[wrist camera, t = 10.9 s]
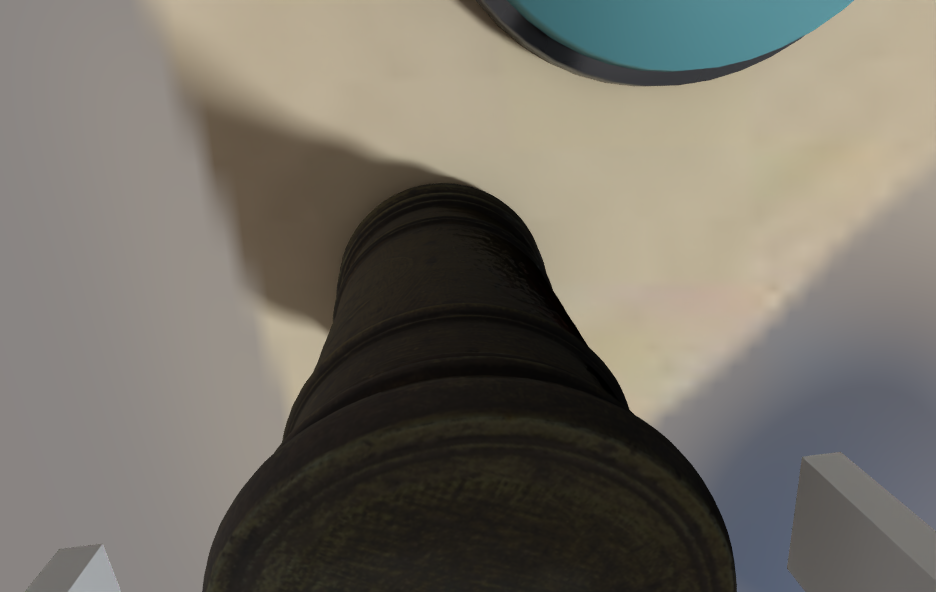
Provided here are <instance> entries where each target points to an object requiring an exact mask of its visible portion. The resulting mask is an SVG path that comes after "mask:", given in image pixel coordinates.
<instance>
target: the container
mask: <svg viewBox="0 0 936 592" xmlns="http://www.w3.org/2000/svg"><path fill="white" fill-rule="evenodd" d="M736 587H737V584H736V573H735V564H734V558H733V552H732V546H731V543H730V539H729V535H728V532H727V529H726V526H725V523H724V521H723V518H722V516H721V514H720V511H719V509H718V507H717V505H716V503H715V501H714V499H713V497H712V495H711V493H710V492H709V490H708V488H707V487H706V485H705V483H704V481H703V480H702V478H701V477H700V475H699V474H698V473H697V471H696V470H695V469H694V467H693V466H692V465H691V463H690V462H689V461H688V460H687V459H686V458H685V457H684V456H683V454H682V453H681V452H680V451H679V450H678V449H677V448H676V447H675V446H674V445H673V444H672V443H671V442H670V441H669V440H668V439H667V438H666V437H665V436H663V435H662V434H661V433H660V432H659V431H657V430H656V429H655V428H653V427H652V426H650V425H649V424H648V423H646V422H645V421H643V420H642V419H640V418H639V417H637V416H635V415H634V414H633V413H632V412H631V411H630V410H629V407H628V404H627V401H626V399H625V396H624V394H623V392H622V389H621V387H620V385H619V383H618V382H617V380H616V378H615V377H614V375H613V374H612V373H611V371H610V370H609V369H608V367H607V366H606V365H605V363H604V362H603V361H602V360H601V359H600V358H599V357H598V356H597V355H596V354H595V353H594V352H593V351H592V350H591V349H590V348H589V347H588V345H587V344H586V342H585V341H584V339H583V337H582V336H581V334H580V333H579V331H578V329H577V328H576V326H575V325H574V323H573V322H572V320H571V319H570V317H569V315H568V314H567V312H566V311H565V309H564V307H563V306H562V304H561V302H560V301H559V299H558V297H557V296H556V294H555V293H554V291H553V289H552V286H551V283H550V281H549V278H548V276H547V274H546V270H545V266H544V262H543V259H542V257H541V254H540V252H539V250H538V247H537V245H536V242H535V240H534V238H533V236H532V234H531V232H530V231H529V229H528V228H527V226H526V225H525V223H524V222H523V221H522V219H521V218H520V217H519V216H518V215H517V214H516V213H515V212H514V211H513V210H512V209H511V208H510V207H508V206H507V205H506V204H505V203H503V202H502V201H500V200H499V199H497V198H496V197H494V196H492V195H490V194H488V193H486V192H484V191H481V190H479V189H476V188H473V187H469V186H464V185H458V184H446V183H440V184H429V185H423V186H418V187H414V188H411V189H408V190H406V191H403V192H401V193H399V194H397V195H395V196H393V197H391V198H389V199H388V200H386V201H384V202H383V203H381V204H380V205H379V206H378V207H376V208H375V209H374V210H373V211H372V212H371V213H370V214H369V215H368V216H367V217H366V218H365V219H364V220H363V221H362V222H361V224H360V225H359V226H358V228H357V229H356V231H355V232H354V234H353V236H352V237H351V239H350V241H349V243H348V245H347V248H346V250H345V253H344V256H343V260H342V264H341V269H340V274H339V279H338V285H337V295H336V302H335V308H334V314H333V324H332V327H331V329H330V332H329V334H328V337H327V339H326V342H325V344H324V346H323V349H322V352H321V355H320V358H319V360H318V363H317V365H316V367H315V370H314V372H313V374H312V375H311V376H310V377H309V379H308V380H307V381H306V383H305V384H304V386H303V388H302V389H301V391H300V393H299V395H298V397H297V399H296V401H295V402H294V404H293V406H292V409H291V412H290V415H289V418H288V420H287V423H286V427H285V431H284V435H283V441H282V443H281V445H280V446H279V447H278V448H277V450H276V451H275V453H274V454H273V455H272V456H271V457H269V458H268V459H267V460H266V461H265V462H264V463H263V465H261V466H260V468H259V469H258V470H257V471H256V472H255V473H254V475H253V476H252V477H251V478H250V479H249V481H248V482H247V483H246V484H245V486H244V487H243V488H242V489H241V491H240V492H239V494H238V495H237V496H236V498H235V500H234V501H233V503H232V505H231V506H230V508H229V510H228V511H227V513H226V515H225V516H224V518H223V520H222V522H221V524H220V526H219V528H218V531H217V533H216V536H215V538H214V541H213V543H212V547H211V549H210V553H209V556H208V561H207V566H206V571H205V575H204V582H203V591H202V592H737V588H736Z"/></svg>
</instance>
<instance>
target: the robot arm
mask: <svg viewBox="0 0 936 592" xmlns="http://www.w3.org/2000/svg"><path fill="white" fill-rule="evenodd" d="M787 569H788V570H789V571H790V572H791V574H792V575H793V576H794V578H795V579H796V580H797V582H798V583H799V584H800V585H801V587H802V588H803V589H804V590H805V592H936V531H935V530H934V529H932V528H931V527H930V526H929V525H927V524H926V523H925V522H924V521H923V520H921V519H920V518H919V517H918V516H916V514H914V513H913V512H912V511H911V510H910V509H908V508H907V507H906V506H904V504H902V503H901V502H900V501H899V500H898V499H896V498H895V497H894V496H893V495H892V494H890V493H889V492H888V491H887V490H886V489H884V488H883V487H882V486H881V485H879V484H878V483H877V482H876V481H875V480H874V479H872V478H871V477H870V476H869V475H868V474H866V473H865V472H864V471H863V470H861V469H860V468H859V467H858V466H857V465H855V464H854V463H853V462H852V461H851V460H849V459H848V458H847V457H846V456H845V455H843V454H842V453H841V452H837V453H830V454H821V455H813V456H805V457H802V462H801V469H800V476H799V484H798V492H797V498H796V506H795V513H794V521H793V528H792V536H791V543H790V550H789V558H788V565H787ZM25 592H121V590H120V588H119V585H118V582H117V580H116V577H115V574H114V572H113V570H112V567H111V564H110V561H109V559H108V557H107V554H106V551H105V549H104V546H103V544H97V545H88V546H81V547H72V548H65V549H59V550H58V551H57V553H56V554H55V555H54V556H53V558H52V559H51V560H50V561H49V562H48V564H47V565H46V566H45V567H44V569H43V570H42V571H41V572H40V573H39V575H38V576H37V577H36V578H35V580H34V581H33V582H32V583H31V585H30V586H29V587H28V588H27V590H26V591H25Z"/></svg>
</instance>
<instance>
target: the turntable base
mask: <svg viewBox="0 0 936 592" xmlns="http://www.w3.org/2000/svg"><path fill="white" fill-rule="evenodd" d="M476 2H477V3H478V4H479V5H480V6H481V7H482V8H483V9H484V10H485V11H486V13H487V14H488V15H489V16H490V17H491V18H492V19H493V20H494V21H495V22H496V24H497V25H498V26H499V27H501V28H502V29H503V30H504V31H505V32H507V33H508V34H509V35H510V36H511V37H512V38H514V39H515V40H516V41H517V42H518V43H520V44H521V45H522V46H523V47H525V48H526V49H528V50H530V51H531V52H533V53H534V54H536V55H538V56H539V57H541V58H542V59H544V60H546V61H547V62H549V63H551V64H553V65H555V66H558V67H560V68H562V69H564V70H567V71H569V72H571V73H573V74H576V75H579V76H582V77H586V78H590V79H593V80H597V81H600V82H604V83H611V84H619V85H627V86H669V85H682V84H689V83H695V82H701V81H707V80H711V79H715V78H718V77H721V76H725V75H728V74H731V73H734V72H738V71H741V70H743V69H745V68H747V67H750V66H752V65H754V64H756V63H758V62H761V61H763V60H765V59H767V58H769V57H771V56H773V55H775V54H776V53H778V52H780V51H781V50H783V49H785V48H786V47H788V46H789V45H791V44H793V43H794V42H796V41H798V40H799V39H801V38H802V37H803V36H802V37H800V38H798V39H797V40H795V41H793V42H791V43H789V44H787V45H785V46H784V47H781V48H779V49H776V50H774V51H771V52H768V53H766V54H763V55H761V56H758V57H756V58H753V59H750V60H746V61H742V62H738V63H734V64H729V65H725V66H721V67H715V68H704V69H694V70H684V71H673V72H661V71H640V70H634V69H629V68H624V67H619V66H614V65H609V64H606V63H604V62H601V61H598V60H595V59H592V58H590V57H587V56H584V55H581V54H579V53H577V52H576V51H574V50H572V49H570V48H568V47H566V46H564V45H562V44H561V43H559V42H557V41H555V40H553V39H552V38H550V37H549V36H548V35H546V34H545V33H544V32H542V31H541V30H540V29H538V28H537V27H535V26H534V25H533V24H531V23H530V22H529V21H527V20H526V19H525V18H524V17H523V16H522V15H521V14H520V13H519V12H518V11H517V10H516V9H515V8H514V7H513V6H512V5H511V4H510V3H509V2H508V1H507V0H476ZM804 36H805V35H804Z"/></svg>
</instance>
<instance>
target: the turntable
mask: <svg viewBox="0 0 936 592" xmlns="http://www.w3.org/2000/svg"><path fill="white" fill-rule="evenodd" d="M507 1H508V2H509V3H510V4H511V5H512V6H513V7H514V8H515V9H516V10H517V11H518V12H519V13H520V14H521V15H522V16H523V17H524V18H525V19H526V20H527V21H529V22H530V23H531V24H533V25H534V26H535V27H537V28H538V29H540V30H541V31H542V32H544V33H545V34H546V35H548V36H549V37H550V38H552V39H553V40H555V41H557V42H559V43H561V44H562V45H564V46H566V47H568V48H570V49H572V50H574V51H576V52H577V53H579V54H581V55H584V56H587V57H590V58H592V59H595V60H598V61H601V62H604V63H606V64H609V65H614V66H619V67H624V68H629V69H634V70H640V71H661V72H673V71H684V70H694V69H704V68H715V67H721V66H725V65H729V64H734V63H738V62H742V61H746V60H750V59H753V58H756V57H758V56H761V55H763V54H766V53H768V52H771V51H774V50H776V49H779V48H781V47H784V46H785V45H787V44H789V43H791V42H793V41H795V40H797V39H798V38H800V37H802V36H804V35H806V34H808V33H810V32H811V31H813V30H815V29H816V28H818V27H819V26H820V25H822V24H823V23H825V22H826V21H828V20H829V19H830V18H832V17H833V16H835V15H836V14H838V13H839V12H840V11H842V10H843V9H845V8H846V7H847V6H848V5H849V4H850V3H851V2H852V1H854V0H507Z"/></svg>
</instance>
